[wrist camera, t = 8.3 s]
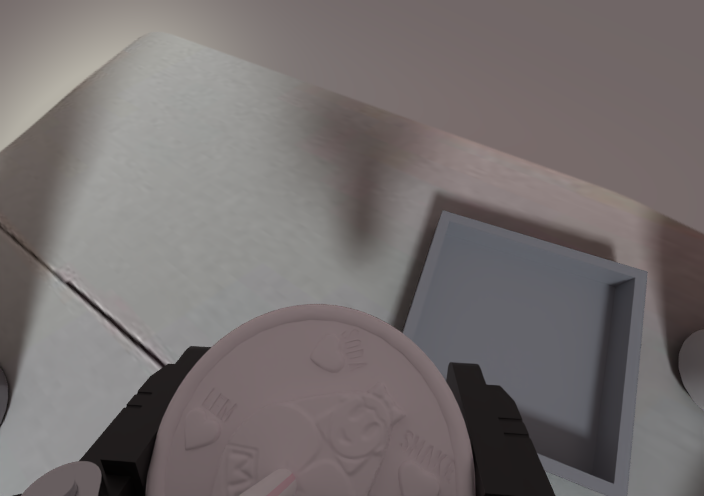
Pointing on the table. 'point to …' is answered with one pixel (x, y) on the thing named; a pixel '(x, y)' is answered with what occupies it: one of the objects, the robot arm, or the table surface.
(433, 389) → the smoothie
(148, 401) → the robot arm
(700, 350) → the can
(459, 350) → the tray
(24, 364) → the table surface
